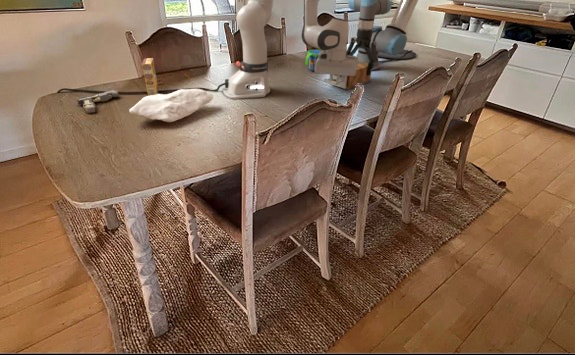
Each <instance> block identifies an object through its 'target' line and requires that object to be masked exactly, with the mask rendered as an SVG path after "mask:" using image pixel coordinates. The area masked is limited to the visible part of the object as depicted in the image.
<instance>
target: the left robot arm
mask: <svg viewBox="0 0 575 355" xmlns="http://www.w3.org/2000/svg"><path fill="white" fill-rule="evenodd" d="M319 2H320V0H303V26H302V29H301V40H302V42H303V44H304V45H305V46H308V47H312V48H315V49H316V50H322V51H321V52H319V54H318V59H317V61H316V64H315V71H314V73H315V74H320V75H322V74H323V75H329V78H331V80H332V81H336V82H337V80H338V79H339V78H340V75H346V76H355V75H356V65H357V64H358V58H357V57H356V56H357V55H353V56H349V55H346V52H347V49H348V46H347V43H348V40H349V30H350V29H349V22H348V20H346V19H345V18H339V17H332V18H331V20H330V21H329V22H328V23H327V24H325V25H323V26H322V25H320V24H319V22H318V5H319ZM273 4H274V0H248V1H247V3H246V4H245V5H242V6H241V8H240V9H239V10H238V12H237V14H236V19H235V21H236V24H237V27H238V28H239V32H240V37H241V44H242V59H243V60H242V61H236V62H235V65H236V66H237V67H239V69H237V71H236V72H235V73H234V74H232V75H231V76H230V77H229V78H225V79H224V82H223V83H221V84H219V85H218V86H217V88H216V89H210V88H207V87H188V88H187V87H185V89H202V90H204V91H206V92H218V91H220V88H221V87H222V86H224V88H223V91H222V92H223V94H224V95H225V96H226V97H228V98H230V99H233V100H236V99H237V100H238V99H239V100H240V99H253V98H254V99H255V98H264V97H266V95H268V94H269V93H270V92H271V88H270V84H269V78H268V76H269V75H268V72H269V61H268V42H267V41H266V35H265V34H266V33H265V26H266V25H268V24H269V22H270V20H271V16H272V10H273ZM333 75H337V79H333V77H332V76H333ZM181 89H182V88H176V89H175V88H174V89H162V90H160V89H159V91H158V94H160V93H170V92H171V93H173V92H175V91H177V90H181ZM62 91H71V92H84V93H85V92H86V93H96V94H101V93H104V92H108V91H109V90H92V89H80V88H68V87H63V88H60V89H59V90H57V91H56V93H57V94H59V93H60V92H62ZM117 92H118V94H119V95H120V94H122V95H125V94H126V95H127V94H128V95H130V94H131V95H135V94H136V95H137V94H148V93H147V90H146V91H144V90H143V91H117Z"/></svg>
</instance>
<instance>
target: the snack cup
mask: <svg viewBox="0 0 575 355" xmlns="http://www.w3.org/2000/svg"><path fill="white" fill-rule="evenodd" d="M321 51H323V50H320V49H309V50H307V54H306V57H305V61H304V64H305V66H306V67H308V68H309V70H310V71H312V72H315V64H316V61H317V59H318V54H319V52H321Z"/></svg>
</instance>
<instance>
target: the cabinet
mask: <svg viewBox="0 0 575 355" xmlns="http://www.w3.org/2000/svg"><path fill="white" fill-rule="evenodd" d="M367 68H368V64H367V63H363V62H359V61H358V64H357V65H356V75H355V76H349V79H348V86H346V88H345V89H346V90H351V89H354V88H356V87H355V85H356V84H357V83H363V84H362V85H364V84H368V83H370V82H371V76H372V73H371V74H370V75H368V76H367ZM372 71H373V70H372V69H371V72H372Z"/></svg>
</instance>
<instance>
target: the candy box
mask: <svg viewBox="0 0 575 355" xmlns="http://www.w3.org/2000/svg"><path fill="white" fill-rule="evenodd" d="M141 66H142V73H143V78H144V82H145V87H146V91H147V93H146V94H147V96H150V95H156V94H159V93H158V91H160V89H159V84H158V79H157V73H156V66H155V62H154V58H153V57H151V58H150V57H149V58H146V57H145V58H143V60H142V63H141Z"/></svg>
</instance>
